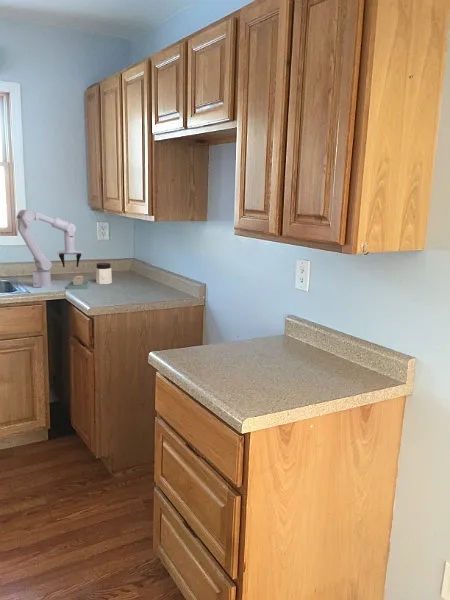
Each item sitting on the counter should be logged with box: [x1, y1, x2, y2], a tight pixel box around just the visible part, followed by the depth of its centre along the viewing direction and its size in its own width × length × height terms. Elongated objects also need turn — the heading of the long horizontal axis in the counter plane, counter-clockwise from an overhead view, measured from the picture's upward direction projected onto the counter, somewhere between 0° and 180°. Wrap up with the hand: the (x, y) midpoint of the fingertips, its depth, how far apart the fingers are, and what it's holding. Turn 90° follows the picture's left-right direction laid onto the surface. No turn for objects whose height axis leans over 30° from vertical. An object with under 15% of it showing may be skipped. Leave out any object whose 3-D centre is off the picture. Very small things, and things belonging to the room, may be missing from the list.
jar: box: [95, 262, 113, 285], centre depth 307 cm, size 9×8×12 cm
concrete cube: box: [72, 277, 83, 286], centre depth 290 cm, size 5×5×6 cm
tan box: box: [74, 275, 84, 285], centre depth 298 cm, size 4×4×5 cm
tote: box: [66, 280, 91, 290], centre depth 294 cm, size 11×15×2 cm
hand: (70, 266), depth 305 cm, fingers open, 7 cm apart
